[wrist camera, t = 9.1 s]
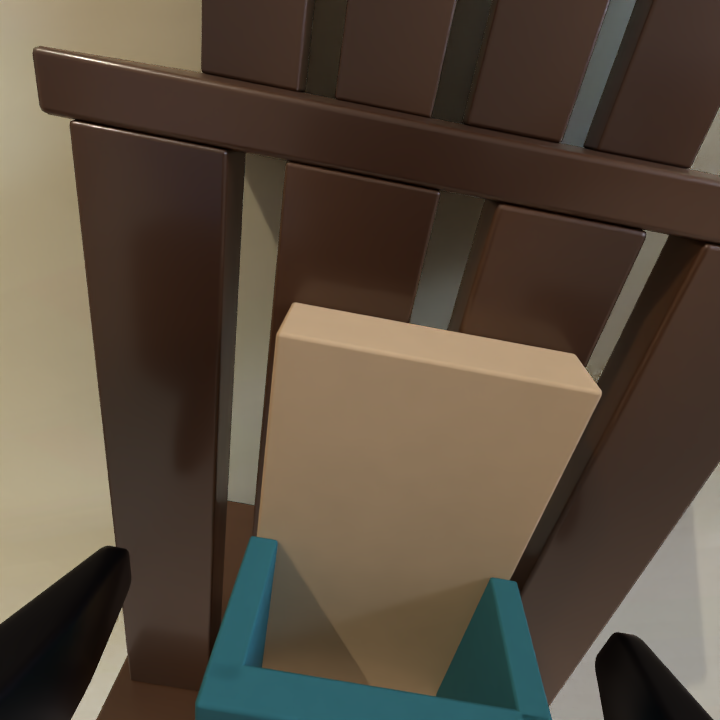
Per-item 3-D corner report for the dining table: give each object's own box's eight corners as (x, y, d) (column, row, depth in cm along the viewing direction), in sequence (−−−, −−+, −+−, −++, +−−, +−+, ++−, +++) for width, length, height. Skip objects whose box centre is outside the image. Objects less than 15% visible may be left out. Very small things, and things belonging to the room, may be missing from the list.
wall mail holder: (581, 353, 8) (737, 559, 4) (431, 687, 12) (445, 911, 9) (285, 299, 7) (193, 464, 4) (248, 657, 12) (192, 872, 9)
